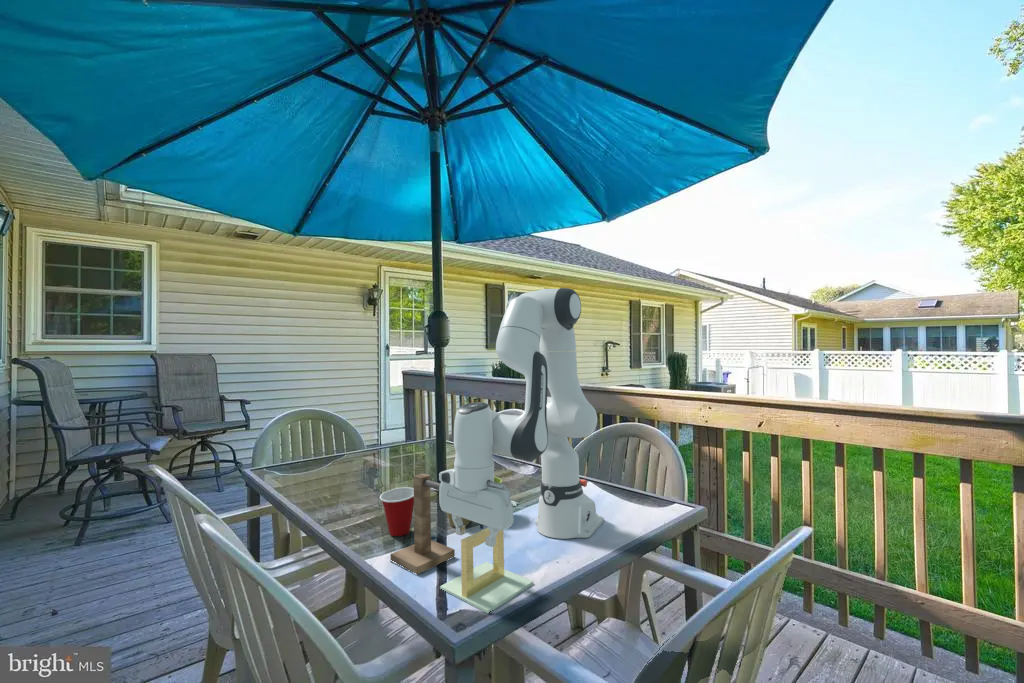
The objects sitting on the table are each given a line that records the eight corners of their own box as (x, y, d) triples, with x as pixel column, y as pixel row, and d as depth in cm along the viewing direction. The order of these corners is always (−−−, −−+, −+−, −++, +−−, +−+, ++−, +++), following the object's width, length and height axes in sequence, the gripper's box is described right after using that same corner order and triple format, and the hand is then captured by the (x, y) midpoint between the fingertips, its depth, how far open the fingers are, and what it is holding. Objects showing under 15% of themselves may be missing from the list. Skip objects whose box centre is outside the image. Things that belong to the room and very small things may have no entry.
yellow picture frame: (499, 573, 106) (498, 522, 106) (504, 576, 105) (503, 524, 105) (461, 595, 97) (461, 539, 97) (467, 598, 96) (466, 541, 96)
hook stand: (427, 545, 123) (426, 464, 124) (480, 568, 110) (479, 476, 110) (390, 561, 114) (389, 473, 115) (443, 588, 101) (441, 488, 101)
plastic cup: (373, 533, 132) (372, 492, 132) (405, 523, 140) (404, 484, 140) (391, 544, 124) (391, 501, 125) (424, 533, 132) (424, 492, 132)
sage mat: (486, 564, 112) (486, 561, 112) (533, 583, 102) (533, 581, 102) (439, 588, 101) (439, 586, 101) (487, 613, 91) (487, 610, 91)
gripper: (519, 481, 95) (520, 547, 95) (454, 466, 108) (455, 524, 108) (499, 489, 90) (500, 558, 90) (434, 472, 104) (435, 532, 103)
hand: (475, 539), depth 99 cm, fingers open, 8 cm apart
